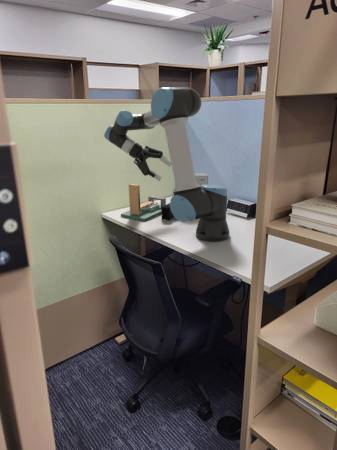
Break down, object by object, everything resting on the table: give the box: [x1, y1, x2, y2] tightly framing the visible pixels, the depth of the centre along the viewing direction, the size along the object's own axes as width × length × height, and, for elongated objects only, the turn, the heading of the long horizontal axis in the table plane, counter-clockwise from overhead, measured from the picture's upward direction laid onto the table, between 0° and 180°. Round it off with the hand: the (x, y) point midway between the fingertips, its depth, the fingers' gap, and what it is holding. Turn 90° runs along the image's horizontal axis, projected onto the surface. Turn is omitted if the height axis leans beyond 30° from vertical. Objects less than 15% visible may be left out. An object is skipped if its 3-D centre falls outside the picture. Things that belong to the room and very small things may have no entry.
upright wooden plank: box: [128, 183, 155, 216], centre depth 186 cm, size 15×6×16 cm, turn 147°
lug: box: [148, 195, 167, 207], centre depth 198 cm, size 3×10×5 cm, turn 57°
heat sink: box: [141, 202, 160, 212], centre depth 193 cm, size 8×8×3 cm
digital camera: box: [161, 202, 175, 222], centre depth 182 cm, size 10×5×7 cm, turn 149°
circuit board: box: [120, 204, 162, 222], centre depth 191 cm, size 25×16×2 cm, turn 147°
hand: (166, 171), depth 181 cm, fingers open, 13 cm apart
